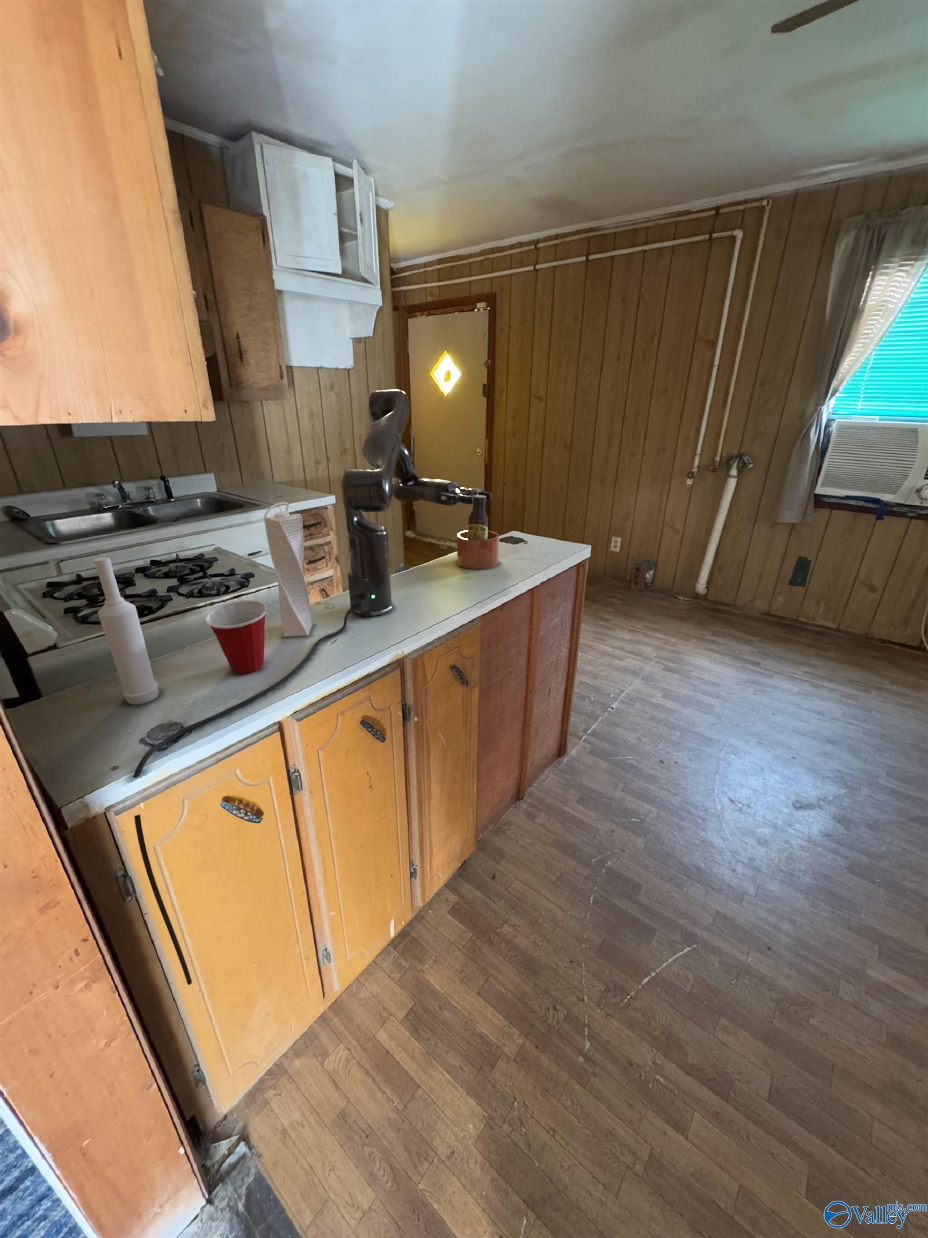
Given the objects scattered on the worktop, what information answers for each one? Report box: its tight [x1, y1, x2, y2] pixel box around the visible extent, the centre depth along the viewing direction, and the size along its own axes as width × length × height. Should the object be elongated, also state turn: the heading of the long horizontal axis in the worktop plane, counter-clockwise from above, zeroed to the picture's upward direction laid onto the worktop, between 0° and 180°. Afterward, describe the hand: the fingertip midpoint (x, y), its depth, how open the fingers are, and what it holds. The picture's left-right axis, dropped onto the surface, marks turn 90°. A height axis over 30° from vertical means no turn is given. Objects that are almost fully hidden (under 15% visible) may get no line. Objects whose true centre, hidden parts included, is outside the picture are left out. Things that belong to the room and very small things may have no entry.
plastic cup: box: [203, 599, 268, 675], centre depth 94 cm, size 11×11×12 cm
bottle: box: [93, 556, 160, 706], centre depth 82 cm, size 5×5×25 cm
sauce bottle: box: [467, 495, 489, 540], centre depth 154 cm, size 7×6×20 cm
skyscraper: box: [263, 501, 314, 638], centre depth 106 cm, size 8×8×28 cm
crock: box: [456, 530, 500, 570], centre depth 156 cm, size 13×13×9 cm
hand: (481, 498), depth 149 cm, fingers open, 8 cm apart
